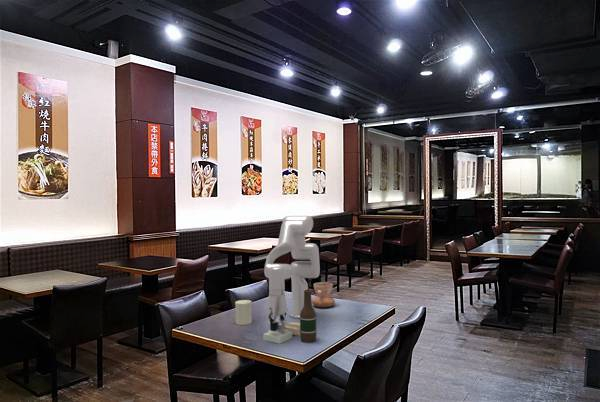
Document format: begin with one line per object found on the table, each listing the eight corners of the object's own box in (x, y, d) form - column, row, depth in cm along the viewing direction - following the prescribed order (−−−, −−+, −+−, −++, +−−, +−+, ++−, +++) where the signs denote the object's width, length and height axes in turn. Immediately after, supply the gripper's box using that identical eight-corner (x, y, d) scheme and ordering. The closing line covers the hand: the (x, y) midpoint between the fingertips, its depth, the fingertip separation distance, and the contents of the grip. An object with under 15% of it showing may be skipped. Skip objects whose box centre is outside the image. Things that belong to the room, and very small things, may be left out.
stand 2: (292, 327, 229) (292, 321, 229) (308, 330, 223) (307, 324, 223) (280, 332, 220) (280, 326, 220) (296, 335, 215) (296, 329, 215)
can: (249, 325, 235) (248, 303, 235) (233, 324, 237) (232, 302, 237) (254, 320, 244) (253, 299, 244) (238, 320, 246) (238, 298, 246)
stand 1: (276, 334, 217) (276, 328, 217) (292, 337, 211) (292, 331, 211) (263, 340, 209) (263, 333, 209) (279, 343, 203) (279, 337, 203)
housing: (274, 330, 215) (274, 318, 215) (287, 332, 210) (287, 320, 210) (268, 332, 211) (268, 320, 211) (281, 335, 206) (281, 322, 206)
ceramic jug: (330, 310, 262) (330, 287, 263) (307, 308, 268) (307, 285, 268) (338, 304, 279) (338, 282, 279) (317, 302, 285) (317, 280, 285)
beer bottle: (299, 337, 211) (298, 288, 211) (315, 337, 212) (314, 288, 212) (301, 343, 203) (300, 292, 203) (317, 342, 204) (316, 291, 204)
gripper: (281, 288, 219) (282, 323, 219) (259, 294, 205) (260, 332, 205) (293, 289, 215) (294, 325, 215) (271, 296, 201) (272, 334, 201)
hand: (277, 328), depth 210 cm, fingers open, 6 cm apart
